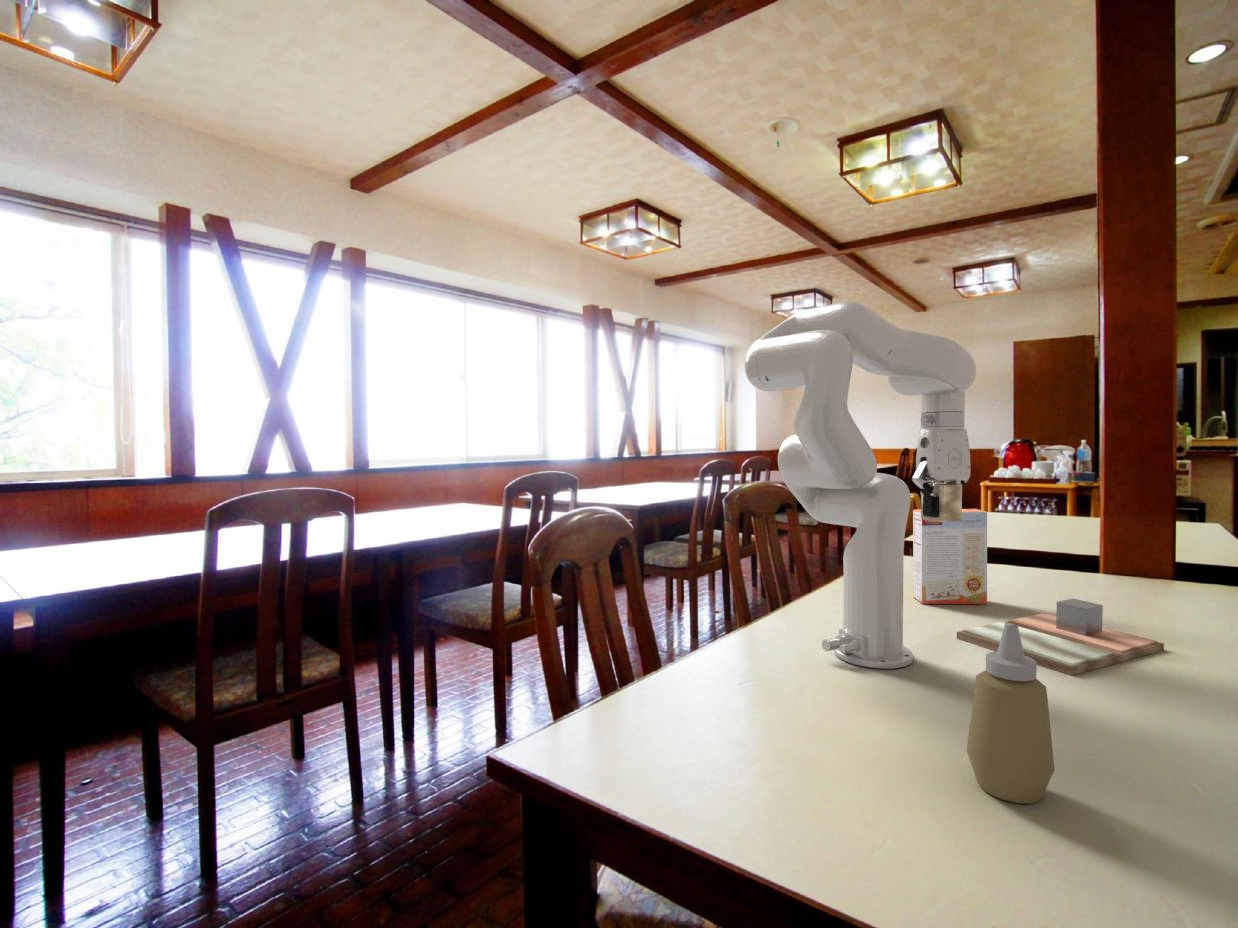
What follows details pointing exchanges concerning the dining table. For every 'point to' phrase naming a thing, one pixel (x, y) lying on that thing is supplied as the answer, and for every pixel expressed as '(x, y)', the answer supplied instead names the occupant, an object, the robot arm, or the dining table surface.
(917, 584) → the cracker box
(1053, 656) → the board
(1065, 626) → the metal block
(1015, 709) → the squeeze bottle
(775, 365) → the robot arm
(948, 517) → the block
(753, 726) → the dining table surface
